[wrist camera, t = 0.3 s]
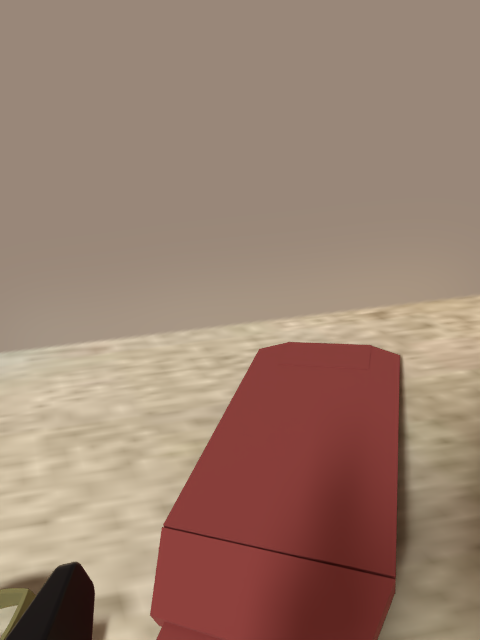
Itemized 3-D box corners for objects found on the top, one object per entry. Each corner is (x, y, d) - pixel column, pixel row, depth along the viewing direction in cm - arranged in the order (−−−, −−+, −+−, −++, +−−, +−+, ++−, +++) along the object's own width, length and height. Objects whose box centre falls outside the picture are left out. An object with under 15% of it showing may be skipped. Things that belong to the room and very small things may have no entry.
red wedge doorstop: (269, 383, 42) (139, 673, 21) (263, 341, 40) (111, 618, 19) (399, 393, 38) (391, 769, 17) (400, 346, 35) (392, 712, 15)
